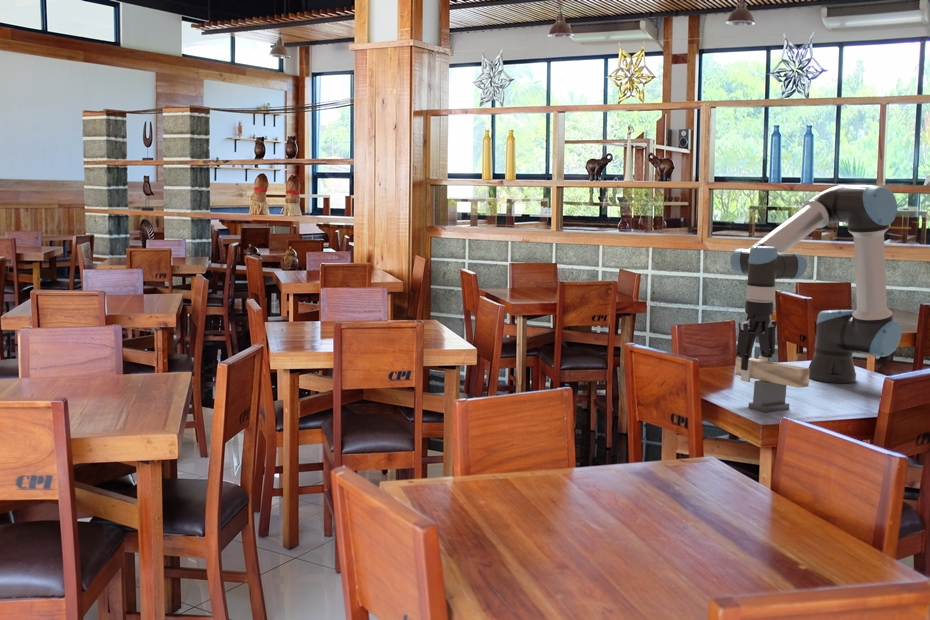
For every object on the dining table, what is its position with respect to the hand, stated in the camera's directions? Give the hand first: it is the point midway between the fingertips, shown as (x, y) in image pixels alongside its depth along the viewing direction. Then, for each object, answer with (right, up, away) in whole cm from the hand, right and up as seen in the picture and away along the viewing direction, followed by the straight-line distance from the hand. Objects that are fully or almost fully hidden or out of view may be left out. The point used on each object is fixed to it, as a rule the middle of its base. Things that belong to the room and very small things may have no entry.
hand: (753, 379), depth 262 cm
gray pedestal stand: (+3, -8, -4) cm, 9 cm away
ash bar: (+3, 0, -5) cm, 6 cm away
